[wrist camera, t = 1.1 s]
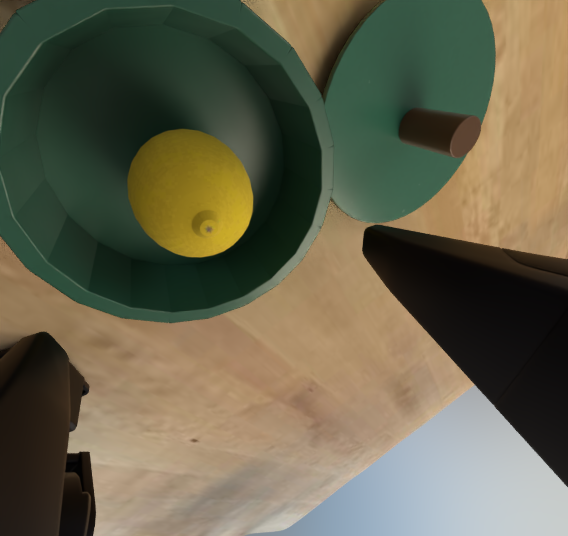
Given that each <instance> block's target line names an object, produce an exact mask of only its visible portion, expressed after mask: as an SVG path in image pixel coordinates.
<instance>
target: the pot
mask: <svg viewBox="0 0 568 536" xmlns="http://www.w3.org/2000/svg"><path fill="white" fill-rule="evenodd" d="M321 96H322V95H321V93H320V92H319V90H318V88H317V87H316V85H315V83H314V82H313V80H312V78H311V77H310V75H309V73H308V72H307V70H306V68H305V66H304V65H303V63H302V61H301V60H300V58H299V56H298V55H297V53H296V51H295V50H294V48H293V47H291V45H290V44H289V43H288V42H287V41H286V40H285V39H284V38H283V37H281V36H280V35H279V34H278V33H277V32H276V31H275V30H274V29H272V28H271V27H270V26H269V25H268V24H267V23H266V22H264V21H263V20H262V19H261V18H260V17H259V16H258V15H256V14H255V13H254V12H253V11H252V10H251V9H250V8H248V7H247V6H246V5H245V4H244V3H242V2H241V1H240V0H35V1H33V2H31V3H29V4H27V5H25V6H23V7H21V8H20V9H18V10H16V13H14V14H13V15H12V17H11V18H10V20H9V21H8V23H7V24H6V26H5V27H4V28H3V30H2V31H1V33H0V236H1V237H2V239H3V240H4V241H5V242H6V244H7V245H8V246H9V247H10V248H11V250H12V251H13V252H14V253H15V255H16V256H17V257H18V258H19V260H20V261H21V262H22V263H23V265H24V266H25V267H26V268H27V269H29V271H31V272H32V273H34V274H35V275H37V276H38V277H40V278H41V279H43V280H44V281H46V282H47V283H49V284H50V285H52V286H53V287H55V288H56V289H57V290H59V291H60V292H62V293H63V294H65V295H66V296H68V297H69V298H71V299H72V300H74V301H76V302H77V303H80V304H83V305H86V306H89V307H91V308H94V309H97V310H100V311H103V312H106V313H109V314H111V315H114V316H117V317H120V318H125V319H134V320H144V321H154V322H164V323H168V322H169V323H175V322H183V321H191V320H200V319H208V318H212V317H214V316H217V315H220V314H223V313H226V312H228V311H231V310H234V309H237V308H240V307H242V306H245V305H247V304H249V303H250V302H252V301H253V300H255V299H256V298H258V297H260V296H261V295H263V294H264V293H266V292H267V291H269V290H271V289H272V288H274V287H275V286H277V285H278V284H279V283H280V282H281V281H282V280H283V279H284V278H285V277H286V276H287V275H288V274H289V273H290V272H291V271H292V270H293V269H294V268H295V267H296V266H297V265H298V264H299V263H300V262H301V261H302V260H303V258H304V256H305V255H306V253H307V251H308V250H309V248H310V246H311V245H312V243H313V241H314V240H315V238H316V236H317V235H318V233H319V231H320V230H321V227H322V225H323V222H324V218H325V215H326V212H327V208H328V205H329V202H330V198H331V195H332V192H333V177H334V141H333V137H332V133H331V129H330V126H329V122H328V118H327V114H326V110H325V106H324V102H323V98H322V97H321ZM176 129H189V130H198V131H201V132H203V133H206V134H208V135H211V136H213V137H215V138H217V139H218V140H219V141H221V142H222V143H224V144H225V145H226V146H228V147H229V148H230V149H231V150H232V151H233V153H234V154H235V155H236V156H237V157H238V159H239V160H240V161H241V163H242V164H243V166H244V168H245V170H246V172H247V175H248V177H249V179H250V183H251V188H252V193H253V211H252V215H251V219H250V222H249V225H248V227H247V229H246V230H245V232H244V234H243V235H242V236H241V237H240V238H239V240H238V241H237V242H236V243H235V244H234V245H232V246H231V247H229V248H228V249H226V250H225V251H223V252H220V253H218V254H215V255H212V256H206V257H186V256H182V255H179V254H175V253H173V252H171V251H169V250H167V249H165V248H163V247H161V246H160V245H159V244H158V243H156V242H155V241H154V240H153V239H152V238H151V237H149V236H148V235H147V234H146V232H145V231H144V230H143V228H142V227H141V225H140V224H139V222H138V221H137V219H136V218H135V216H134V213H133V210H132V207H131V204H130V201H129V198H128V184H127V179H128V174H129V170H130V166H131V162H132V161H133V159H134V157H135V156H136V154H137V152H138V151H139V149H140V148H141V147H142V146H143V145H144V144H145V143H146V142H147V141H149V140H150V139H151V138H152V137H154V136H156V135H158V134H161V133H163V132H165V131H169V130H176Z"/></svg>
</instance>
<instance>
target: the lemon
mask: <svg viewBox="0 0 568 536" xmlns="http://www.w3.org/2000/svg"><path fill="white" fill-rule="evenodd" d="M127 184H128V198H129V201H130V204H131V207H132V210H133V213H134V216H135V218H136V219H137V221H138V222H139V224H140V225H141V227H142V228H143V230H144V231H145V232H146V234H147V235H148V236H149V237H151V238H152V239H153V240H154V241H155V242H156V243H158V244H159V245H160V246H161V247H163V248H165V249H167V250H169V251H171V252H173V253H175V254H179V255H182V256H186V257H206V256H212V255H215V254H218V253H220V252H223V251H225V250H226V249H228V248H229V247H231V246H232V245H234V244H235V243H236V242H237V241H238V240H239V238H240V237H241V236H242V235H243V234H244V232H245V230H246V229H247V227H248V225H249V222H250V219H251V215H252V211H253V193H252V188H251V183H250V179H249V177H248V175H247V172H246V170H245V168H244V166H243V164H242V163H241V161H240V160H239V159H238V157H237V156H236V155H235V154H234V153H233V151H232V150H231V149H230V148H229V147H228V146H226V145H225V144H224V143H222V142H221V141H219V140H218V139H217V138H215V137H213V136H211V135H208V134H206V133H203V132H201V131H198V130H189V129H176V130H169V131H165V132H163V133H161V134H158V135H156V136H154V137H152V138H151V139H150V140H149V141H147V142H146V143H145V144H144V145H143V146H142V147H141V148H140V149H139V151H138V152H137V154H136V156H135V157H134V159H133V161H132V162H131V166H130V170H129V174H128V179H127Z"/></svg>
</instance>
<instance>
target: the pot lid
mask: <svg viewBox="0 0 568 536" xmlns="http://www.w3.org/2000/svg"><path fill="white" fill-rule="evenodd" d="M495 55H496V51H495V38H494V32H493V27H492V23H491V20H490V17H489V14H488V12H487V9H486V8H485V6H484V4H483V2H482V1H481V0H382V1H381V2H379V3H378V4H377V5H376V6H375V7H374V8H373V9H372V10H371V11H370V12H369V13H368V14H367V15H366V16H365V17H364V18H363V19H362V21H361V22H360V23H359V25H358V26H357V27H356V29H355V30H354V31H353V33H352V34H351V35H350V37H349V38H348V40H347V42H346V43H345V45H344V47H343V48H342V50H341V52H340V53H339V55H338V58H337V60H336V62H335V64H334V66H333V68H332V70H331V73H330V75H329V78H328V81H327V84H326V87H325V89H324V93H323V97H322V98H323V102H324V106H325V110H326V114H327V118H328V122H329V126H330V129H331V133H332V137H333V141H334V177H333V192H332V195H331V200H332V201H333V202H334V204H335V205H336V206H337V207H338V208H339V209H340V210H341V211H343V212H344V213H346V214H347V215H349V216H350V217H352V218H354V219H356V220H359V221H363V222H367V223H383V222H389V221H393V220H396V219H399V218H401V217H404V216H406V215H408V214H409V213H411V212H413V211H415V210H416V209H418V208H419V207H421V206H422V205H424V204H425V203H426V202H427V201H429V200H430V199H431V198H432V197H433V196H434V195H435V194H436V193H437V192H439V191H440V189H441V188H442V187H443V186H444V185H445V184H446V183H447V182H448V181H449V179H450V178H451V177H452V176H453V174H454V173H455V172H456V170H457V169H458V167H459V166H460V164H461V163H462V162H463V160H464V158H465V157H466V155H467V153H468V152H469V151H470V150H471V149H472V148H473V146H474V145H475V143H476V142H477V140H478V137H479V135H480V131H481V125H482V122H483V119H484V116H485V113H486V111H487V107H488V104H489V100H490V96H491V91H492V86H493V81H494V73H495Z"/></svg>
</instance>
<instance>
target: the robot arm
mask: <svg viewBox="0 0 568 536" xmlns="http://www.w3.org/2000/svg"><path fill="white" fill-rule="evenodd" d="M362 251H363V255H364V257H365V258H366V259H367V261H368V262H369V264H370V265H371V266H372V268H373V269H374V270H375V272H376V273H377V274H378V276H379V277H380V279H381V280H382V281H383V283H384V284H385V285H386V287H387V288H388V289H389V290H390V292H391V293H392V294H393V295H394V296H395V297H396V298H397V299H398V301H399V302H400V303H401V304H402V305H403V306H404V307H405V308H406V309H407V310H408V312H409V313H410V314H411V315H412V316H413V317H414V318H415V319H416V320H417V321H418V323H419V324H420V325H421V326H422V327H423V328H424V329H425V330H426V331H427V332H428V334H429V335H430V336H431V337H432V338H433V339H434V340H435V341H436V342H437V344H438V345H439V346H440V347H441V348H442V349H443V350H444V351H445V352H446V353H447V355H448V356H449V357H450V358H451V359H452V360H453V361H454V362H455V363H456V364H457V366H458V367H459V368H460V369H461V370H462V371H463V372H464V373H465V374H466V375H467V377H468V378H469V379H470V380H471V381H472V382H473V383H474V384H475V385H476V386H477V388H478V389H479V390H480V391H481V392H482V393H483V394H484V395H485V396H486V397H487V399H488V400H489V401H490V402H491V403H492V404H493V405H494V406H495V407H496V409H497V410H498V411H499V412H500V413H501V414H502V415H503V416H504V417H505V419H506V420H507V421H508V422H509V423H510V424H511V425H512V426H513V427H514V428H515V430H516V431H517V432H518V433H519V434H520V435H521V436H522V437H523V438H524V439H525V441H527V443H528V444H529V445H530V446H531V447H532V448H533V449H534V451H535V452H536V453H537V454H538V455H539V456H540V457H541V458H542V459H543V460H544V462H545V463H546V464H547V465H548V466H549V467H550V468H551V469H552V470H553V471H554V473H555V474H556V475H557V476H558V477H559V478H560V479H561V480H562V481H563V482H564V484H565V485H566V486H567V487H568V259H562V258H556V257H550V256H543V255H537V254H532V253H526V252H520V251H515V250H510V249H504V248H502V249H501V248H499V247H494V246H488V245H483V244H478V243H473V242H467V241H462V240H457V239H451V238H446V237H441V236H436V235H430V234H425V233H420V232H414V231H409V230H404V229H399V228H393V227H388V226H383V225H374V226H371V227H368V228H366V229H365V231H364V238H363V247H362ZM88 392H89V385H88V384H87V383H86V382H85V381H84V377H83V376H82V375H81V374H80V373H79V372H78V371H77V370H76V369H75V368H74V367H73V365H72V364H71V363H70V362H69V359H68V355H67V353H66V352H65V350H64V349H63V348H62V347H61V346H60V345H59V344H58V343H57V342H56V341H55V339H54V338H53V337H52V336H51V335H50V334H49V333H47V332H39V333H36V334H33V335H30V336H27V337H24V338H22V339H21V340H20V341H19V342H18V343H17V344H16V345H15V346H14V347H12V348H9V349H6V350H3V351H0V536H93V533H94V527H95V518H96V506H95V497H94V488H93V479H92V470H91V461H90V452H79V453H67V448H68V439H69V432H71V431H74V430H75V428H76V426H77V423H78V416H79V410H80V404H81V397H82V396H84V395H86V394H88Z"/></svg>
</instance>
